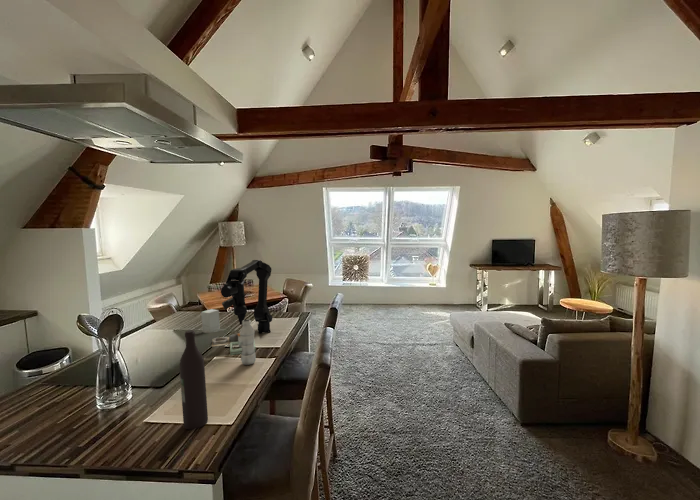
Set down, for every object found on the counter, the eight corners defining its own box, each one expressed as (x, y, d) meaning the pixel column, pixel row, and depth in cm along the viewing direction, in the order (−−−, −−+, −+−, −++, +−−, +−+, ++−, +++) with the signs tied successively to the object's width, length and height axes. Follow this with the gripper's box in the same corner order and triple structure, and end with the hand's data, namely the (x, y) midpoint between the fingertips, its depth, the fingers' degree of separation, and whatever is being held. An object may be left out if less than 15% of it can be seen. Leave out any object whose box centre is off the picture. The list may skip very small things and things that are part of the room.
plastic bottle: (238, 366, 152) (235, 322, 150) (246, 360, 158) (244, 318, 157) (251, 367, 150) (248, 322, 149) (258, 361, 157) (256, 318, 155)
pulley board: (247, 337, 192) (246, 329, 192) (248, 344, 180) (247, 336, 179) (213, 341, 186) (212, 333, 186) (211, 349, 174) (211, 341, 174)
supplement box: (220, 330, 206) (219, 310, 205) (209, 334, 200) (208, 313, 199) (212, 328, 210) (211, 308, 209) (202, 332, 204) (200, 311, 203)
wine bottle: (196, 415, 113) (190, 327, 110) (212, 419, 110) (207, 329, 108) (178, 427, 106) (171, 333, 104) (195, 432, 103) (189, 336, 101)
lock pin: (246, 346, 175) (245, 331, 175) (246, 349, 171) (246, 333, 171) (238, 347, 174) (237, 332, 173) (238, 350, 170) (237, 335, 169)
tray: (254, 344, 180) (254, 339, 180) (255, 351, 169) (255, 346, 169) (230, 347, 176) (230, 342, 176) (230, 355, 165) (229, 350, 165)
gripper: (222, 291, 184) (224, 319, 186) (222, 298, 167) (224, 329, 168) (243, 289, 188) (245, 316, 189) (245, 296, 170) (248, 326, 172)
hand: (240, 322), depth 180 cm, fingers open, 9 cm apart
